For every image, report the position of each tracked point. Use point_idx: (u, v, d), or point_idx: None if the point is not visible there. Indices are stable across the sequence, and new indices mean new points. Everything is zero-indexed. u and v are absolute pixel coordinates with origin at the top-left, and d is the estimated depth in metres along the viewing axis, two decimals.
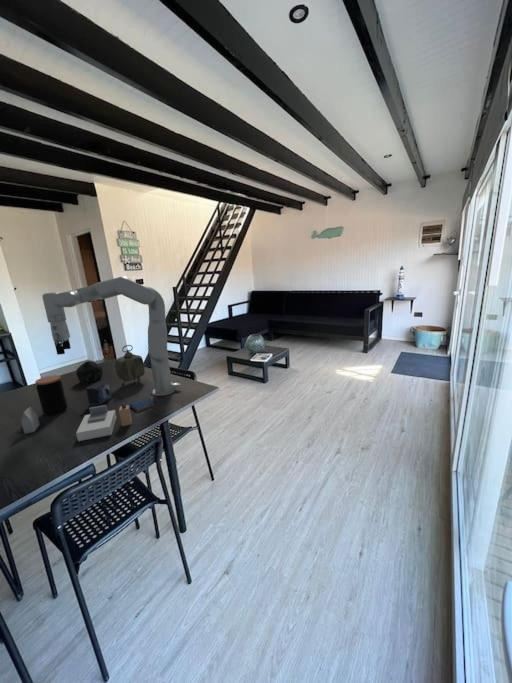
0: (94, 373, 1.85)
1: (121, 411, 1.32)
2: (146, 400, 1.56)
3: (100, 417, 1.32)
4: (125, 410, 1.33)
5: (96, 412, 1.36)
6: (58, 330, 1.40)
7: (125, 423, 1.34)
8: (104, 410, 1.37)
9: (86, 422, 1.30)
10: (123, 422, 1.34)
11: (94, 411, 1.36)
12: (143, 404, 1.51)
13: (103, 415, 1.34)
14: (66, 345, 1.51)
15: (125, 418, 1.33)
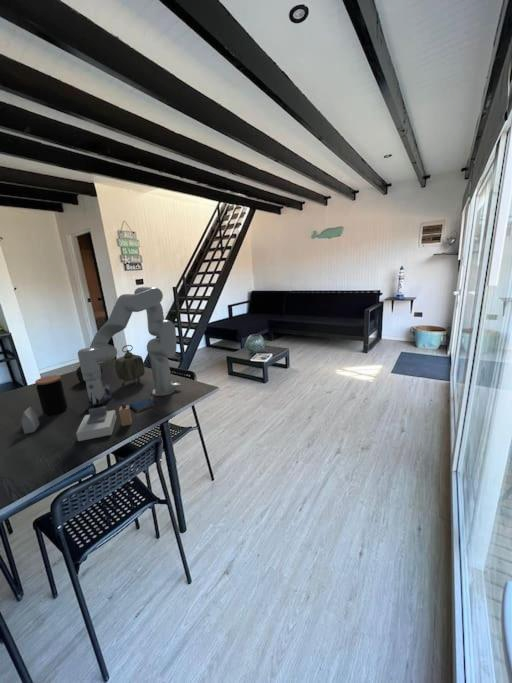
0: None
1: (121, 411, 1.32)
2: (146, 400, 1.56)
3: (99, 418, 1.31)
4: (125, 410, 1.33)
5: (95, 413, 1.35)
6: (94, 389, 1.31)
7: (125, 423, 1.34)
8: (103, 411, 1.36)
9: (86, 422, 1.30)
10: (123, 422, 1.34)
11: (93, 413, 1.34)
12: (143, 404, 1.51)
13: (102, 416, 1.33)
14: None
15: (125, 418, 1.33)
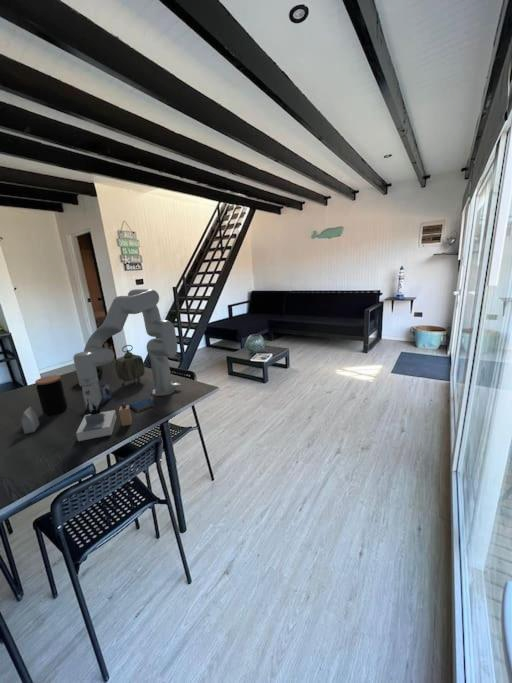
0: None
1: (121, 411, 1.32)
2: (146, 400, 1.56)
3: (96, 426, 1.25)
4: (125, 410, 1.33)
5: (92, 420, 1.29)
6: (91, 395, 1.24)
7: (125, 423, 1.34)
8: (101, 418, 1.30)
9: None
10: (123, 422, 1.34)
11: (90, 420, 1.28)
12: (143, 404, 1.52)
13: (100, 424, 1.27)
14: (96, 413, 1.32)
15: (125, 418, 1.33)
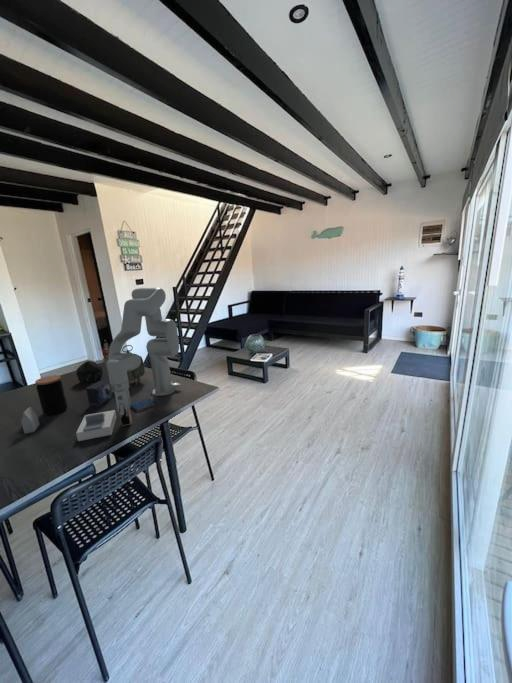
0: (94, 373, 1.85)
1: None
2: (146, 400, 1.56)
3: (96, 426, 1.25)
4: None
5: (92, 420, 1.29)
6: (123, 400, 1.28)
7: None
8: (101, 418, 1.30)
9: None
10: None
11: (90, 419, 1.28)
12: (143, 404, 1.52)
13: (100, 424, 1.27)
14: None
15: None
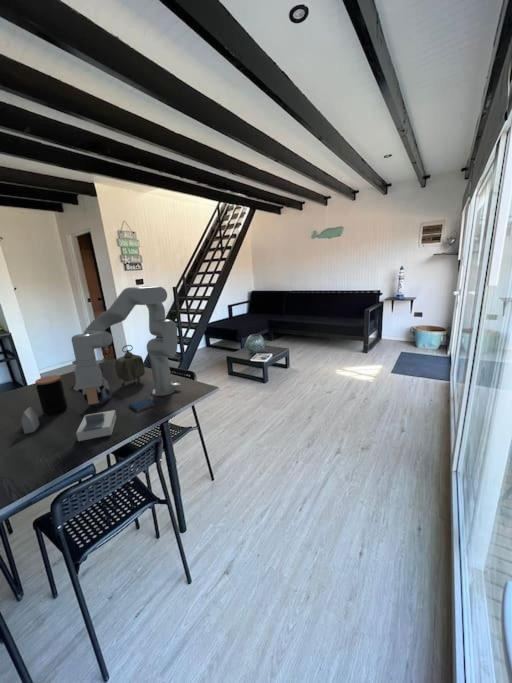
0: None
1: None
2: (146, 400, 1.56)
3: (96, 426, 1.25)
4: None
5: (92, 420, 1.29)
6: None
7: None
8: (101, 418, 1.30)
9: None
10: None
11: (90, 419, 1.28)
12: (143, 404, 1.52)
13: (100, 424, 1.27)
14: None
15: None
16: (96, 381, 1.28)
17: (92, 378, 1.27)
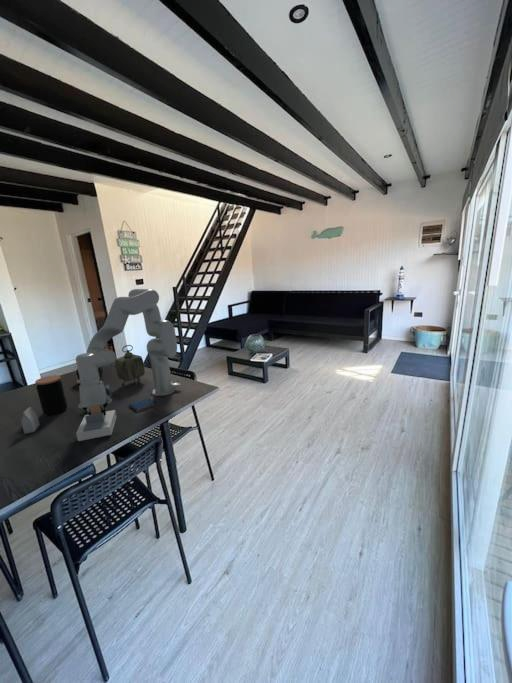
0: None
1: None
2: (146, 400, 1.56)
3: (96, 426, 1.25)
4: None
5: (92, 420, 1.29)
6: None
7: None
8: (101, 418, 1.30)
9: None
10: None
11: (90, 419, 1.28)
12: (143, 404, 1.52)
13: (100, 424, 1.27)
14: None
15: None
16: (100, 399, 1.30)
17: (96, 396, 1.30)
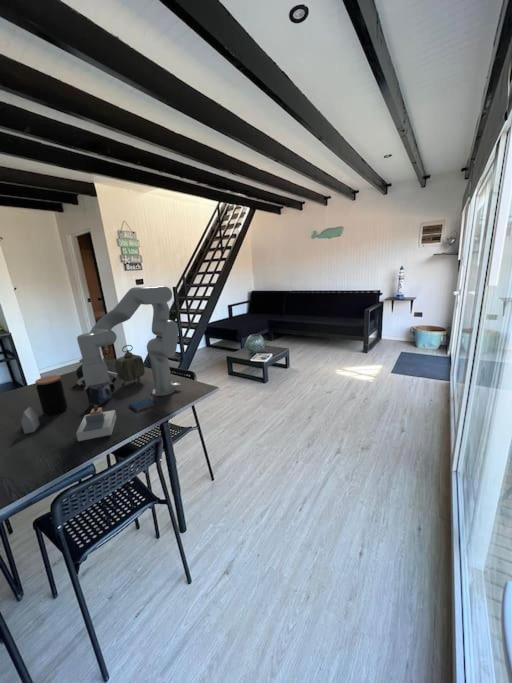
0: None
1: None
2: (146, 400, 1.56)
3: (96, 426, 1.25)
4: None
5: (92, 420, 1.29)
6: (83, 373, 1.33)
7: None
8: (101, 418, 1.30)
9: None
10: None
11: (90, 419, 1.28)
12: (143, 404, 1.52)
13: (100, 424, 1.27)
14: None
15: None
16: (103, 377, 1.35)
17: (99, 375, 1.34)
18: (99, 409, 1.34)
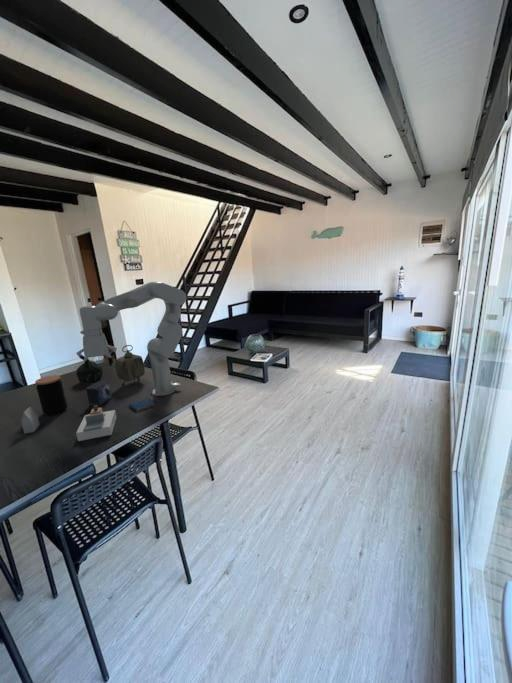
0: (94, 373, 1.85)
1: None
2: (146, 400, 1.56)
3: (96, 426, 1.25)
4: None
5: (92, 420, 1.29)
6: (83, 345, 1.36)
7: None
8: (101, 418, 1.30)
9: None
10: None
11: (90, 419, 1.28)
12: (143, 404, 1.52)
13: (100, 424, 1.27)
14: None
15: None
16: (102, 350, 1.38)
17: (98, 347, 1.37)
18: (99, 409, 1.34)
